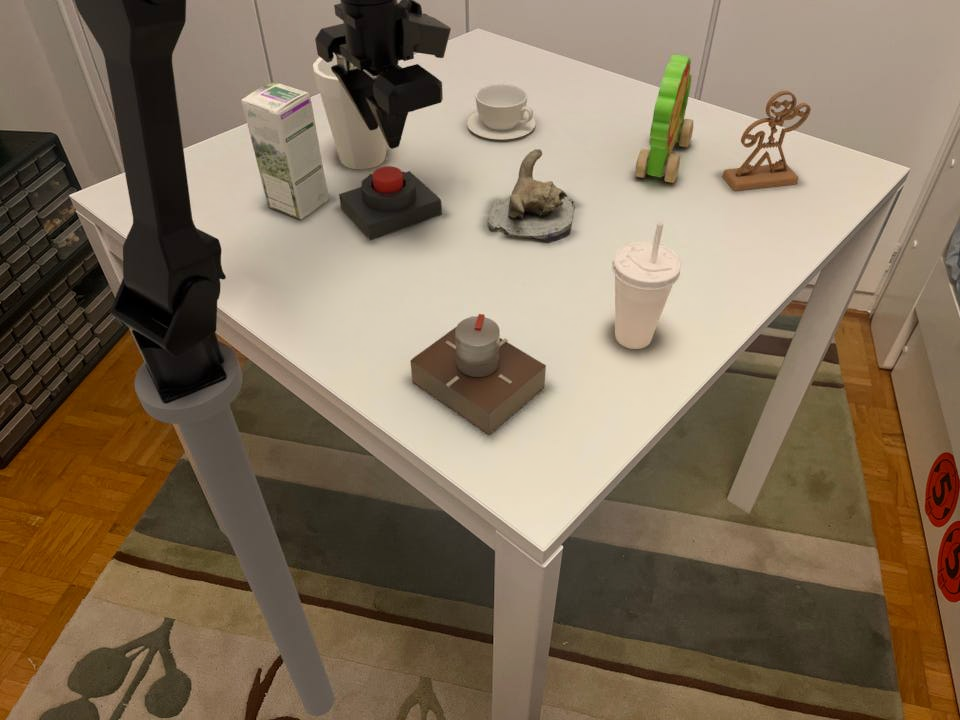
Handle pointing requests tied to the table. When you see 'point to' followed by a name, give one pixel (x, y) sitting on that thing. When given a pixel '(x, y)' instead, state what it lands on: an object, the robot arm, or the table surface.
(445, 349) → the panel
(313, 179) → the syrup box
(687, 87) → the toy lion
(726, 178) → the brown wooden figure
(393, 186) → the button
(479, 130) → the teacup
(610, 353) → the table surface
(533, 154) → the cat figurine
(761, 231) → the table surface
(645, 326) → the smoothie
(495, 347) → the heat knob
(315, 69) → the foam cup
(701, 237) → the table surface
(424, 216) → the block
